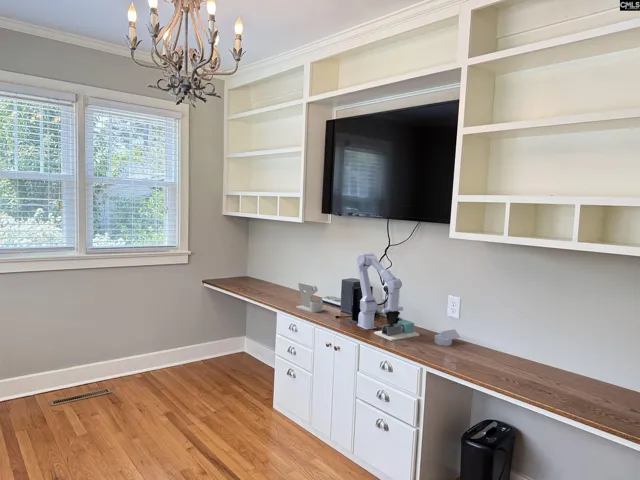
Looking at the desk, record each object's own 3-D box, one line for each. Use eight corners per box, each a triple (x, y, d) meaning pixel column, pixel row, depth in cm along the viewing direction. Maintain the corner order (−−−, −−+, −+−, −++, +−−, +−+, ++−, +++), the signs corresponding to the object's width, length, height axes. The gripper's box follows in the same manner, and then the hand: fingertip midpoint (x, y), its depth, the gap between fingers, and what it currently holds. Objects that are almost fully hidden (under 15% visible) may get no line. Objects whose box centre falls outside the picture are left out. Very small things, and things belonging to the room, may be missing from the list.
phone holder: (324, 310, 297) (325, 284, 296) (313, 313, 290) (315, 285, 288) (305, 305, 309) (307, 279, 308) (295, 307, 302) (296, 281, 300)
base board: (374, 333, 253) (374, 331, 253) (401, 328, 265) (402, 327, 265) (391, 340, 241) (391, 338, 241) (419, 335, 254) (419, 333, 254)
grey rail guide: (381, 333, 250) (382, 325, 249) (394, 331, 255) (395, 323, 255) (387, 336, 246) (388, 327, 245) (400, 333, 251) (401, 325, 251)
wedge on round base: (447, 338, 251) (430, 341, 244) (448, 327, 250) (431, 329, 244) (460, 343, 243) (443, 346, 237) (461, 331, 243) (444, 334, 236)
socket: (397, 330, 258) (397, 321, 257) (404, 329, 261) (405, 319, 261) (405, 333, 252) (406, 324, 252) (413, 332, 256) (414, 323, 255)
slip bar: (387, 331, 251) (387, 320, 250) (399, 329, 256) (400, 318, 256) (390, 333, 248) (391, 321, 248) (403, 331, 254) (404, 319, 253)
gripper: (388, 303, 241) (386, 327, 243) (407, 300, 249) (405, 324, 251) (379, 300, 247) (378, 324, 248) (398, 298, 255) (397, 321, 256)
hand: (391, 324), depth 250 cm, fingers closed on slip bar, 2 cm apart
